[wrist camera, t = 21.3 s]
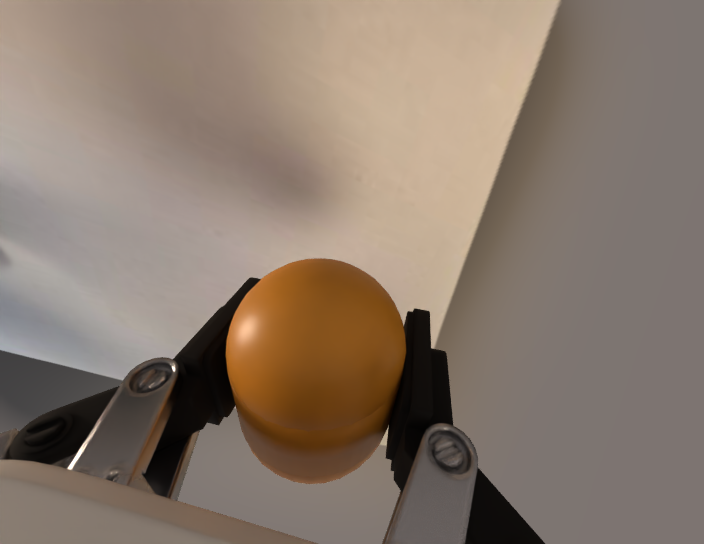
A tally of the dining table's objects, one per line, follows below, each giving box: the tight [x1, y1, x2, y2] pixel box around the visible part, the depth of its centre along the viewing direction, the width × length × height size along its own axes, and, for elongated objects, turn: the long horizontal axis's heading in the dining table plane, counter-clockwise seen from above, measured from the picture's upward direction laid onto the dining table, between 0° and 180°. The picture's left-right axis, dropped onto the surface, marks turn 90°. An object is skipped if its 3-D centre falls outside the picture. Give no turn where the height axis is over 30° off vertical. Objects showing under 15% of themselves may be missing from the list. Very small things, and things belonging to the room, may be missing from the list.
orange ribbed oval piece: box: [226, 259, 406, 484], centre depth 9 cm, size 8×5×5 cm
